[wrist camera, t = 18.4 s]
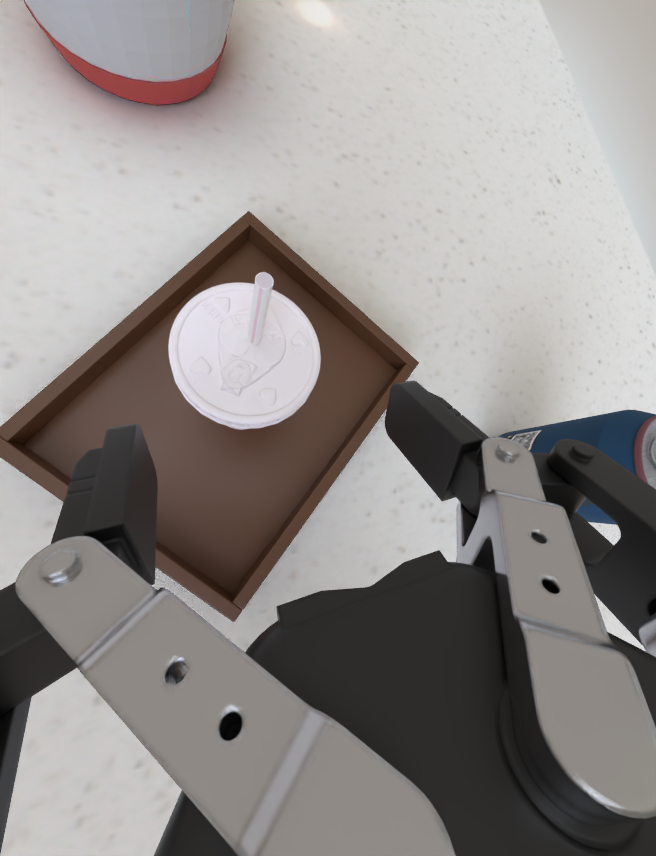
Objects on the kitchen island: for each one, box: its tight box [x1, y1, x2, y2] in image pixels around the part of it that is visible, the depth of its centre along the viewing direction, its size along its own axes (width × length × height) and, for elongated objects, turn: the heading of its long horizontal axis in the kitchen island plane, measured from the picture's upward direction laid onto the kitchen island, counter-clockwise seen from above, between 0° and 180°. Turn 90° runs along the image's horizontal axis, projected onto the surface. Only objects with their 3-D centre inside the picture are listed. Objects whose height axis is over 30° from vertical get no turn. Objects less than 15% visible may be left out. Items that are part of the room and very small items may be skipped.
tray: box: [0, 211, 419, 622], centre depth 23 cm, size 22×17×2 cm
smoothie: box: [168, 272, 321, 430], centre depth 17 cm, size 6×6×14 cm
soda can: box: [499, 410, 656, 525], centre depth 24 cm, size 7×7×12 cm
